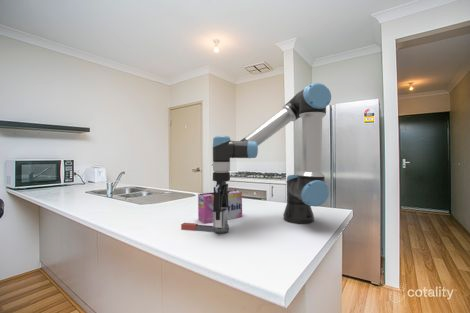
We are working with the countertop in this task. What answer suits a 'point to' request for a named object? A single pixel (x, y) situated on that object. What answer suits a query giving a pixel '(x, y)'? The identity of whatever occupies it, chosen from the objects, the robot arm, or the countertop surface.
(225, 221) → the socket
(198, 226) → the ratchet
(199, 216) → the gum box
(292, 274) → the countertop surface
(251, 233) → the countertop surface
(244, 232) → the countertop surface
